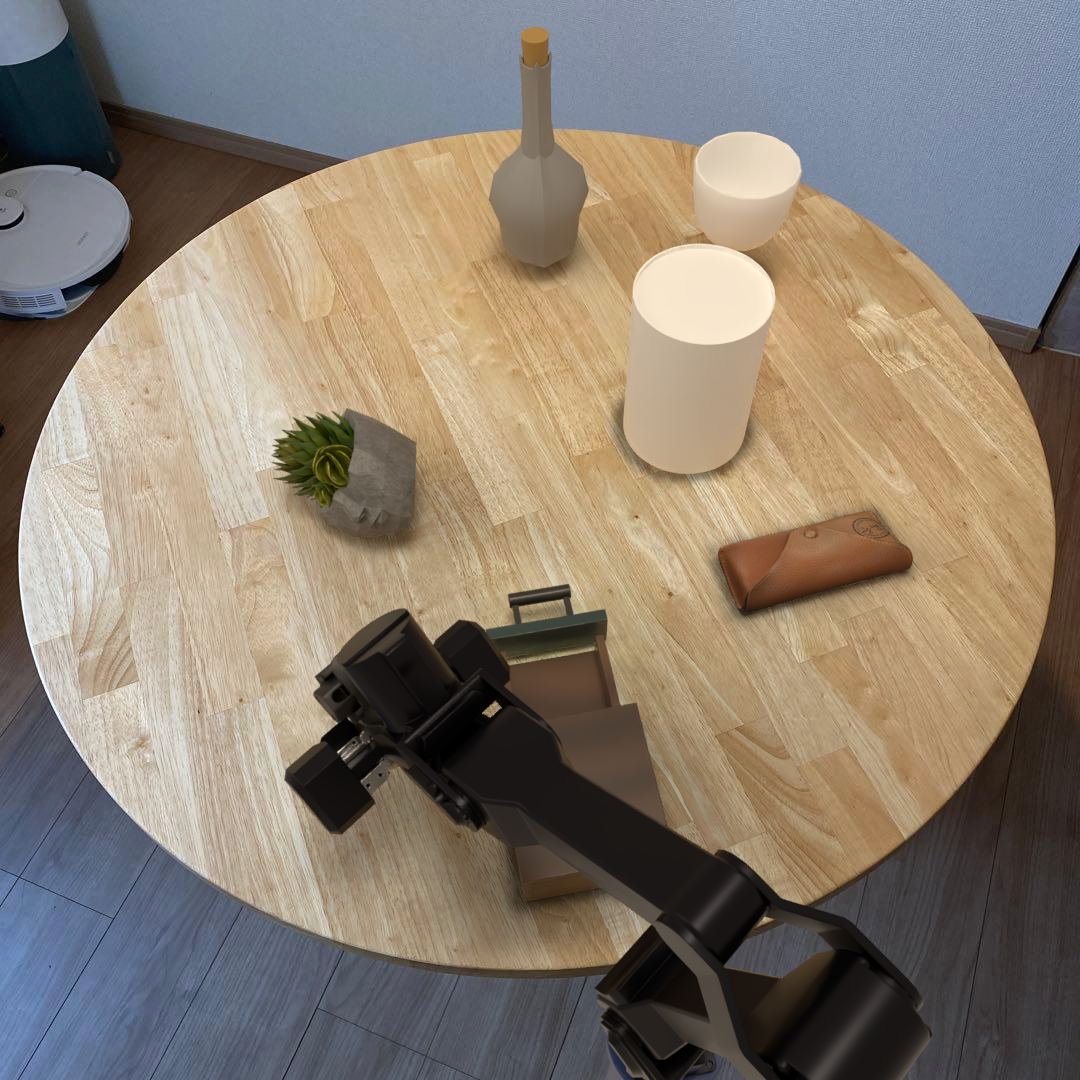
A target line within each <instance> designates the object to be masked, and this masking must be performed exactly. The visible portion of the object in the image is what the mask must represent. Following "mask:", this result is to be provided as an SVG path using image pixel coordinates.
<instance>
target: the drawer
mask: <svg viewBox="0 0 1080 1080" xmlns="http://www.w3.org/2000/svg"><path fill="white" fill-rule="evenodd" d="M571 598H572V590H571V587H570V584H569V583H566V584H565V583H564V584H559V585H554V586H553V585H552V586H547V587H541V588H535V589H528V590H523V591H518V592H510V593H508V594H507V599H508V606H509V608H510V609H511V610H512V615H513V619H514V624H508V625H504V626H502V625H501V626H496V627H490V628H486V629H485V632H486V633H487V634H488V636H489V637H490V639H491V640H492V642H493V643H494V644H495V646H496V647H497V649H498V650H499V652H500V653H501V654H502V656H503V657H504V659H505V660H506V662H507V663H508V664H509V661H508V659H509V658H514V657H519V656H526V655H531V654H537V653H543V652H549V651H555V650H560V649H567V648H572V647H578V646H583V645H590V644H594V650H590V651H584V652H580V653H578V652H577V653H573V654H566V655H563V656H562V655H561V656H556V657H550V658H544V659H538V660H533V661H527V662H520V663H515V664H509V666H510V681H509V682H508V683H507V684H506V685H505V686H504V687H505V688H507V689H508V690H509V691H510V692H511V693H513V694H514V695H515V696H516V697H518V698H519V699H520V700H521V701H522V702H524V703H525V704H526V705H527V706H528V707H530V708H531V709H532V710H533V711H534V712H536V713H537V714H538V715H539V716H540V717H542V718H543V719H547V718H552V717H558V716H564V715H569V714H575V713H581V712H586V711H592V710H598V709H603V708H609V707H615V706H620V705H621V702H620V698H619V697H620V696H619V693H618V690H617V689H618V688H617V686H616V685H617V684H616V682H615V677H614V673H613V668H612V665H611V661H610V655H609V652H608V648H607V644H606V641H607V637H608V625H609V624H608V622H609V619H608V615H607V610H606V608H603V609H596V610H591V611H585V612H579V613H574V609H573V606H572V602H571ZM561 600H563V604H564V609H565V613H566V615H562V616H561V615H560V616H556V617H555V616H554V617H550V618H545V619H544V618H543V619H539V620H532V621H526V622H522V617H521V612H520V607H521V608H522V607H526V606H531V605H532V606H533V605H539V604H544V603H550V602H556V601H561Z"/></svg>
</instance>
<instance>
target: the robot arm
mask: <svg viewBox="0 0 1080 1080" xmlns="http://www.w3.org/2000/svg"><path fill="white" fill-rule="evenodd" d="M509 665H510V664H509V662H508V663H507V662H506V660H505V659H504V657H503V656H502V654H501V653H500V652H499V650H498V649H497V647H496V646H495V644H494V643H493V642H492V640H491V639H490V637H489V636H488V634H487V633H486V629H485V628H483V626H481V625H480V624H479V623H478V622H476V621H472V620H467V619H458V620H457V621H456V622H454V623H453V624H452V625H451V626H450V627H448V628H447V629H446V630H445V631H444V632H442V634H440V635H439V636H438V637H437V638H436V639H435V640H434V642H433V643H432V641H431V640H430V639H429V636H428V635H427V634H426V632H424V630H423V629H422V627H421V626H420V625H419V623H418V622H417V620H416V619H415V618H414V616H413V615H412V614H411V612H410V611H409V610H408V608H403V607H402V608H401V607H400V608H397V609H393V610H390V611H388V612H386V613H384V614H382V615H379V617H376V618H375V619H374V620H372V621H370V622H368V623H367V624H366V625H364V627H362V628H360V630H358V631H357V632H356V633H355V634H354V635H353V636H351V638H349V639H348V641H347V642H345V644H344V645H343V646H342V648H341V649H340V650H339V652H338V653H337V654H336V655H334V657H333V658H332V660H331V662H330V663H329V664H328V665H326V666H325V667H324V668H322V670H320V671H319V672H318V673H317V674H316V675H315V676H314V678H315V680H316V681H317V682H318V683H319V686H318V688H316V689H315V690H314V691H313V693H312V694H313V695H312V696H313V698H314V699H315V700H316V702H317V703H318V704H319V705H320V707H322V709H323V710H324V711H325V712H326V713H327V714H328V715H329V716H330V718H331V719H332V720H333V721H334V722H335V723H336V724H335V725H334V726H333V727H331V728H330V729H329V730H327V732H326V733H325V734H323V735H322V736H321V737H320V741H319V742H318V743H316V744H314V745H312V746H311V747H310V748H309V749H307V750H306V751H305V752H304V753H303V754H301V755H300V756H299V757H298V758H297V759H296V760H295V761H294V762H292V763H291V764H290V765H289V766H288V767H287V768H285V772H284V781H285V782H286V784H287V785H288V787H289V788H290V789H291V790H292V791H293V792H294V794H295V795H296V796H297V797H298V799H299V800H300V801H301V802H302V803H303V805H304V806H305V807H306V808H307V810H308V811H309V812H310V813H311V815H312V816H313V817H314V818H315V819H316V820H317V822H318V823H319V824H320V826H321V827H322V828H323V829H324V830H325V831H326V832H328V833H329V834H330V835H338V836H339V835H340V836H342V835H343V834H344V833H346V831H348V830H349V829H350V828H351V827H352V826H353V825H354V824H355V823H357V821H359V820H360V819H361V818H362V817H363V816H364V815H365V814H366V813H367V812H368V811H370V810H371V809H372V808H373V807H374V806H375V805H376V804H377V803H376V801H375V799H374V797H373V796H372V795H373V793H374V792H376V791H377V790H378V789H379V788H380V787H381V786H382V785H383V784H384V783H386V782H387V780H388V778H389V776H390V774H391V771H390V769H389V767H390V766H391V765H392V764H393V763H394V762H395V763H397V764H398V765H399V767H400V769H401V770H402V772H403V773H404V775H406V776H407V777H408V779H410V781H411V782H413V783H414V785H415V786H416V787H417V788H418V789H419V790H420V791H421V792H422V793H423V794H424V795H425V796H426V798H428V799H429V800H430V801H431V802H432V803H433V804H434V806H436V807H437V808H438V809H439V810H440V811H441V812H442V813H443V814H444V816H446V817H447V818H448V820H449V821H450V822H452V823H453V824H454V825H455V826H459V827H460V826H461V827H466V828H468V829H469V830H471V831H472V832H473V833H478V832H479V831H480V830H481V829H482V830H483V831H485V832H486V833H487V834H488V835H490V836H492V837H493V838H495V839H497V841H499V842H501V843H502V844H503V845H505V846H507V847H508V848H515V847H525V846H535V845H542V846H543V847H545V848H546V849H548V850H550V851H551V852H553V853H554V854H555V855H557V856H558V857H560V858H561V859H562V860H564V861H565V862H566V863H568V864H569V865H570V866H572V867H573V868H575V869H576V870H577V871H579V872H580V873H581V874H583V875H584V876H586V877H587V878H588V879H590V880H591V881H592V882H594V883H595V884H597V885H598V886H599V887H601V888H600V889H602V890H603V891H605V892H606V893H607V894H609V895H610V896H611V897H613V898H615V899H616V900H617V901H618V902H620V903H621V904H623V905H624V906H626V907H627V908H628V909H629V910H630V911H632V912H634V913H635V914H636V915H638V916H639V917H640V918H642V919H643V920H645V921H646V922H647V923H649V924H650V925H649V926H648V927H647V928H646V929H645V931H644V932H643V933H642V934H641V935H640V936H639V937H638V938H637V940H635V942H634V943H633V944H632V945H631V946H630V947H629V949H628V950H627V951H626V952H625V953H624V954H623V955H622V957H620V959H619V960H618V961H617V962H616V963H615V964H614V965H613V966H612V968H611V969H610V970H609V971H608V972H607V973H606V974H605V975H604V976H603V978H602V979H601V980H600V981H599V982H598V983H597V985H595V987H594V991H595V992H597V995H596V1003H597V1004H598V1005H599V1006H600V1007H601V1008H602V1009H605V1011H603V1013H602V1014H601V1015H600V1016H599V1020H600V1022H599V1024H600V1025H601V1027H602V1029H603V1031H604V1034H605V1033H606V1034H607V1036H608V1043H609V1044H610V1045H611V1047H612V1048H613V1049H614V1051H615V1052H616V1054H617V1055H618V1056H619V1058H620V1059H621V1060H622V1062H623V1063H624V1065H625V1066H626V1071H627V1072H628V1073H629V1074H630V1076H631V1077H633V1078H634V1080H637V1078H638V1077H642V1078H643V1079H644V1080H681V1079H682V1078H686V1077H691V1076H696V1075H700V1074H705V1073H710V1072H713V1071H714V1070H715V1069H716V1066H717V1065H716V1060H715V1056H714V1053H715V1054H718V1055H720V1056H723V1057H725V1059H726V1060H727V1061H729V1063H731V1065H732V1066H733V1067H734V1068H735V1069H736V1070H737V1071H738V1072H739V1073H740V1074H741V1075H742V1077H743V1078H744V1079H745V1080H903V1079H904V1078H905V1076H906V1075H907V1074H908V1072H909V1071H910V1069H911V1068H912V1066H913V1065H914V1064H915V1063H916V1061H917V1059H918V1058H919V1057H920V1055H921V1054H922V1052H923V1051H924V1050H925V1048H926V1047H927V1046H928V1044H929V1042H931V1040H932V1039H933V1037H934V1032H933V1029H932V1027H930V1025H928V1024H927V1023H926V1022H924V1020H923V1018H922V1017H921V1016H920V1014H919V1011H920V1010H921V1008H923V1006H924V998H923V997H922V995H921V993H920V991H919V990H918V988H917V987H916V986H915V985H914V984H913V982H912V981H911V980H910V979H909V978H908V977H907V976H906V975H905V974H904V973H903V972H902V971H901V970H900V969H899V968H898V967H897V966H896V965H895V964H894V963H893V962H892V961H891V960H890V959H889V958H888V956H886V955H885V954H884V952H882V951H881V950H880V949H879V948H878V947H877V946H876V945H875V944H874V943H873V942H872V941H871V940H870V939H869V938H868V937H867V936H866V934H864V933H863V932H862V931H861V930H860V929H859V927H857V926H856V925H855V924H854V923H853V922H852V921H851V920H850V919H847V918H846V917H844V916H841V915H837V914H835V913H831V912H828V911H824V910H821V909H819V908H815V907H811V906H808V905H804V904H801V903H798V902H794V901H792V900H788V899H784V898H783V897H781V896H780V895H779V894H778V893H777V892H776V891H775V890H774V889H773V888H772V887H771V886H770V885H769V884H768V882H766V881H765V880H764V879H763V878H762V877H761V876H760V874H759V873H758V872H756V871H755V870H754V869H753V868H752V867H751V866H750V865H749V864H748V863H746V862H745V860H743V859H742V858H740V857H738V856H737V855H736V854H734V853H732V852H731V851H728V850H727V849H720V848H718V849H717V850H716V851H715V852H714V853H712V852H710V851H708V850H706V849H705V848H703V847H701V846H700V845H699V844H697V843H695V842H694V841H692V840H690V839H689V838H687V837H686V836H684V835H682V834H681V833H678V832H677V831H675V830H673V829H672V828H670V827H669V826H668V825H667V826H668V827H667V826H666V825H664V824H662V823H661V822H659V821H658V820H656V819H654V818H653V817H651V816H649V815H648V814H646V813H644V812H643V811H641V810H640V809H638V808H636V807H635V806H633V805H631V804H630V803H628V802H626V801H625V800H623V799H622V798H620V797H618V796H617V795H615V794H613V793H612V792H610V791H608V790H607V789H605V788H604V787H602V786H600V785H599V784H597V783H595V782H594V781H592V780H590V779H589V778H587V777H586V776H584V775H582V774H581V773H579V772H577V771H576V770H575V769H574V768H573V766H572V764H571V762H570V761H569V759H568V757H567V755H566V754H565V752H564V750H563V748H562V743H561V740H560V739H559V737H558V736H557V734H556V733H555V731H554V730H553V729H552V728H551V726H550V725H549V724H548V723H547V722H546V721H545V720H544V719H543V718H542V717H540V716H539V715H538V714H537V713H536V712H534V711H533V710H532V709H531V708H530V707H528V706H527V705H526V704H525V703H524V702H522V701H521V700H520V699H519V698H518V697H516V696H515V695H514V694H513V693H511V692H510V691H509V690H508V689H507V688H505V687H504V686H505V685H506V684H507V683H508V682H509V681H510V666H509ZM494 703H496V704H497V705H498V706H499V707H500V708H499V709H498V710H496V712H495V713H494V714H493V715H491V717H490V716H489V715H487V714H484V712H485V711H486V710H488V708H489V707H491V706H492V705H493V704H494ZM349 718H350V719H351V720H352V721H353V722H354V723H355V724H356V723H358V724H359V725H360V727H361V728H362V729H363V732H361V733H359V732H358V730H357V729H356V728H355V727H354V725H353V724H352V723H351V721H350V719H349ZM371 737H373V740H372V738H371ZM367 741H370V742H369V743H368V742H367ZM381 758H383V759H381ZM388 769H389V770H388ZM765 918H767V919H771V920H774V921H777V922H781V923H784V924H787V925H791V926H794V927H798V928H801V929H804V930H808V931H811V932H815V933H816V934H818V936H819V937H820V938H821V939H822V940H823V941H824V942H825V943H826V944H827V945H828V946H829V947H830V948H831V949H830V950H825V951H821V952H816V953H815V954H813V955H812V956H810V957H809V958H808V959H805V961H803V962H802V963H800V964H799V965H798V966H797V967H795V968H794V969H793V970H791V971H790V972H788V973H787V974H785V975H784V976H782V977H780V976H776V975H770V974H765V973H760V972H754V971H749V970H744V969H740V968H733V967H729V966H725V965H726V964H727V963H728V961H729V960H730V959H731V958H732V957H733V956H734V954H735V953H736V952H737V951H738V949H740V947H741V946H742V945H743V944H744V942H745V941H746V940H747V939H748V937H749V936H750V935H751V934H752V933H753V932H754V930H756V928H757V927H758V926H759V925H760V923H761V922H762V921H763V920H764V919H765ZM707 1062H712V1064H713V1067H712V1068H708V1067H707Z"/></svg>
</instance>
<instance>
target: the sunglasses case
mask: <svg viewBox="0 0 1080 1080" xmlns="http://www.w3.org/2000/svg"><path fill="white" fill-rule="evenodd" d="M717 556H718V560H719V563H720V566H721V568H722V572H723V574H724V577H725V579H726V582H727V585H728V587H729V590H730V593H731V595H732V598H733V600H734V604H735V605H736V608H737V610H738V611H739V612H740V613H741V614H745V615H746V614H752V613H757V612H760V611H763V610H766V609H770V608H773V607H776V606H779V605H782V604H783V605H784V604H785V603H790V602H793V601H798V600H801V599H804V598H807V597H810V596H814V595H818V594H821V593H827V592H830V591H833V590H836V589H840V588H843V587H847V586H851V585H855V584H859V583H862V582H866V581H870V580H874V579H877V578H882V577H886V576H890V575H893V574H896V573H900V572H903V571H906V570H909V569H911V568H912V566H913V563H914V555H913V551H911V549H910V547H908V546H907V545H906V544H904V543H902V542H901V541H900V540H898V539H897V538H896V537H895V536H894V535H893V534H892V533H891V532H890V531H889V530H888V529H887V528H885V526H884V525H883V524H881V522H880V521H879V519H878V518H877V515H875V513H874V512H872V511H871V510H870V511H869V510H867V511H859V512H854V513H851V514H845V515H842V516H838V517H835V518H831V519H828V520H824V521H820V522H815V523H812V524H808V525H804V526H801V527H800V526H799V527H797V528H792V529H788V530H784V531H780V532H776V533H772V534H766V535H763V536H759V537H753V538H750V539H746V540H741V541H736V542H733V543H728V544H726V545H723V546H721V547H719V548H718V553H717Z"/></svg>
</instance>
